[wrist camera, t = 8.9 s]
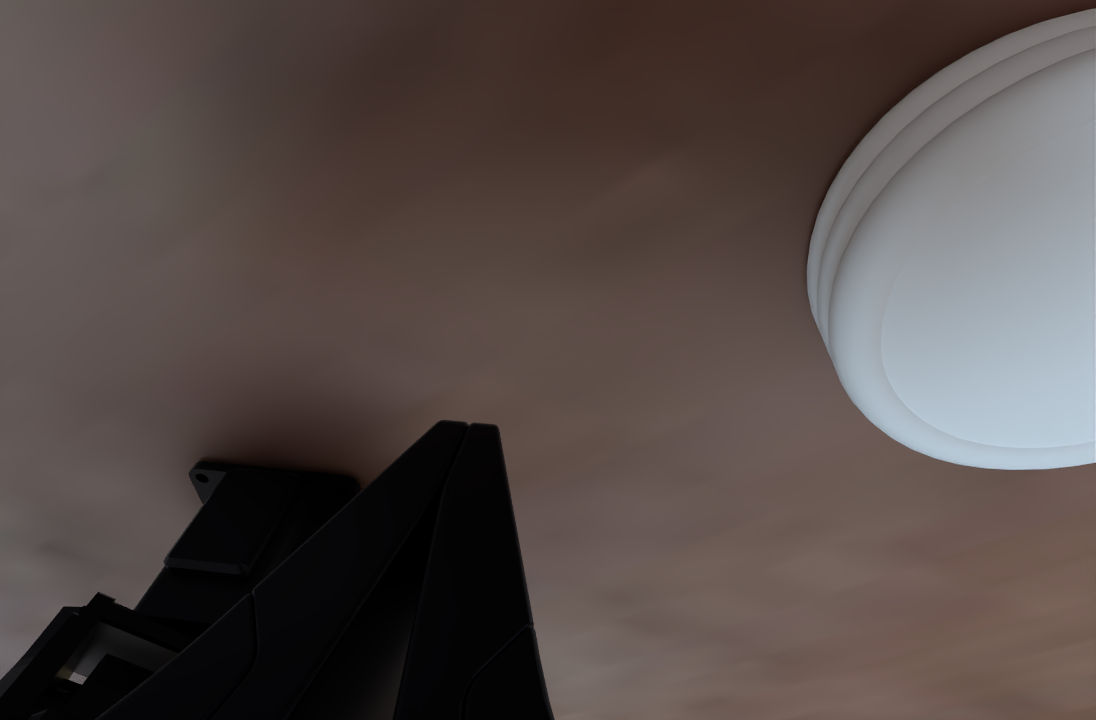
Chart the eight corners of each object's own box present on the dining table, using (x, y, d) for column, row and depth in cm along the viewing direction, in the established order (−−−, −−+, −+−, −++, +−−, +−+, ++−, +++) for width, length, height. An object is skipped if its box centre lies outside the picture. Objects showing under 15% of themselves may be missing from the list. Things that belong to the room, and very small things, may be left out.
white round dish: (738, 168, 15) (761, 230, 12) (1274, -126, 11) (1493, -133, 8) (872, 435, 20) (911, 525, 17) (1289, 297, 15) (1434, 386, 13)
